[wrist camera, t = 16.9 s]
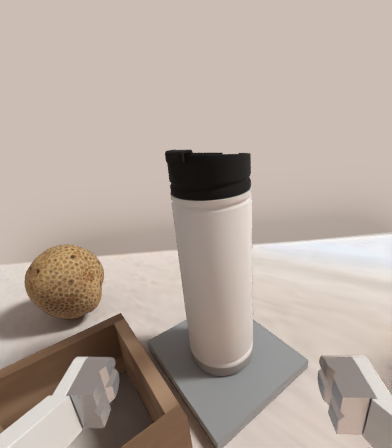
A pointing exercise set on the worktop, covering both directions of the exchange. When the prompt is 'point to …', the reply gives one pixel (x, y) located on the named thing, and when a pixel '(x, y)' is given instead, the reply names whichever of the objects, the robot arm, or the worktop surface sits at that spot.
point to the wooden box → (125, 360)
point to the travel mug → (215, 255)
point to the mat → (228, 380)
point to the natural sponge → (65, 281)
